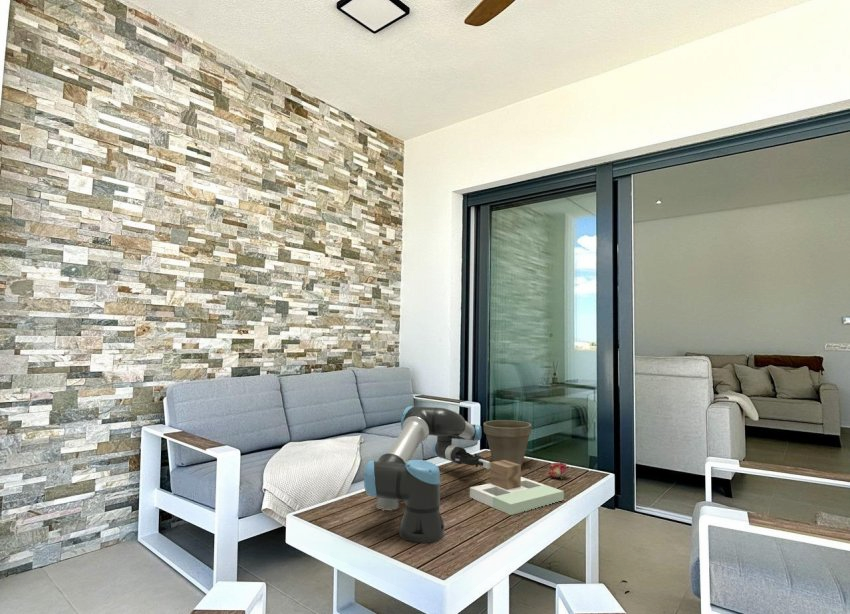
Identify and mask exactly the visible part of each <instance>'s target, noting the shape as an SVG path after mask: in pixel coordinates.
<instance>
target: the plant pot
mask: <svg viewBox="0 0 850 614" xmlns="http://www.w3.org/2000/svg"><path fill="white" fill-rule="evenodd" d="M483 432H484V434H485V435H486V440H487V443H488V448H489V452H490V455H491V459H492V462H495V461H501V460H506V461H509V462H513V463H516V464H519V465H521V467H523V463H524V459H525V455H526V451H527V446H528V443H529V439H530V435H531V434H532V424H531V423H530V422H526V421H521V420H511V419H510V420H509V419H508V420H507V419H503V420H501V419H498V420H495V419H494V420H488V421H485V422H483Z"/></svg>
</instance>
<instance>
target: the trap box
mask: <svg viewBox="0 0 850 614" xmlns="http://www.w3.org/2000/svg"><path fill="white" fill-rule="evenodd" d="M564 497H565V491H564V490H562V489H559V488H556V487H552V486H550V485H547V484H544V483H540V482H537V481H535V480H532V479H529V478H526V477H524V476H521V487H518V488H513V489H509V490H506V489H503V488H501V487H498V486H495V485H493V484H490V483H485V484H481V485H474V486H471V487H469V498H470V499H472V498H473V500H475V501H478V502H479V503H482V504H485V505H487V506H488V507H491V508H493V509H496V510H498V511H500V512H503V513H505V514H507V515H509V516H512V515H513V516H514V515H517V514H520V513H524V511H525V512H527V511H531V509H532V510H536V509H539V508H538V507H540V508H542V507H541V506H543V507H546V506H545V505H547V506H550V505H549V504H551V505H553V504H552V503H555V502H558V501H562V500H564V501H565V499H564ZM562 502H563V501H562ZM558 503H559V502H558ZM555 504H556V503H555ZM535 508H536V509H535Z"/></svg>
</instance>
